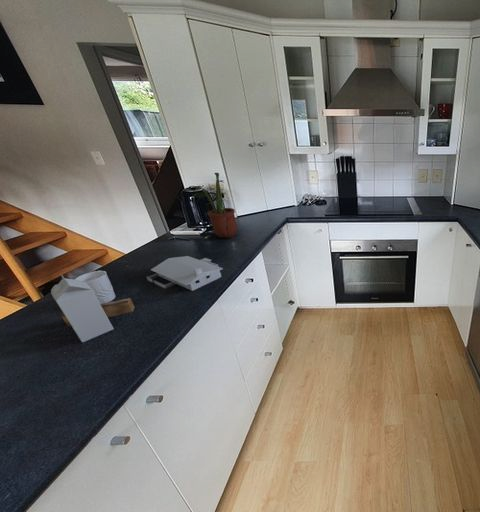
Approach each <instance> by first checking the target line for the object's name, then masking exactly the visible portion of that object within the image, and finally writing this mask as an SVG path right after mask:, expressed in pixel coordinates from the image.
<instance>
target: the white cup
mask: <svg viewBox="0 0 480 512" xmlns="http://www.w3.org/2000/svg"><path fill="white" fill-rule="evenodd" d="M74 280H77V281H83V282H86V283H87V284H88V285H89V286H90V287H91V289H92V290H93V292H94V294H95V296H96V297H97V299H98V301H99V303H100V304H103V303H108V302H113V300H115V299H116V298H117V297H116V294H115V292H114V287H113V285H112V282H111V280H110V278H109V276H108V274H107V271H105V270H95V271H90V272H87V273H83V274H80V275H79V276H77V277H76V278H75V279H74Z"/></svg>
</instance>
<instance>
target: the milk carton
mask: <svg viewBox="0 0 480 512" xmlns="http://www.w3.org/2000/svg"><path fill="white" fill-rule="evenodd" d="M60 276H61V280H60V281H59V282H58V283H57V284H54V286H52V288H51V290H50V294H51V296H52V297H53V299H54V301H55V302H56V304H57V305H58V307H59V308H60V310H61V312H62V314H64V315H65V316H66V318H67V320H68V321H69V323H70V324H71V326H70V327H71V328H72V329H73V331H74V332H75V334H76V336H77V338H78V339H79V340H80V341H81V343H85V342H87V341H90V340H92V339H95V338H97V337H99V336H102V335H103V334H106V333H108V332H109V333H110V332H111V331H113V330H114V327H113V325H112V323H111V321H110V319H109V317H107V316H106V314H105V312H104V310H103V308H102V307H101V305H100V303H99V301H98V299H97V297H96V296H95V294H94V292H93V290H92V289H91V287H90V286H89V285H88V284H87V283H86V282H83V281H77V280H75V279H71V278H65V277H64V275H62V274H61V275H60Z"/></svg>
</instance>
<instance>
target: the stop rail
mask: <svg viewBox="0 0 480 512" xmlns="http://www.w3.org/2000/svg"><path fill="white" fill-rule="evenodd" d="M100 305H101V307H102V308H103V310H104V312H105V314H106V316H107V317H108V318H111V317H116V316H121V315H125V314H129V313H133V312H134V311H135V308H136V307H135V305H134V302H133V301H132V299H131V297H128V298H127V297H126V298H122V299H118V300H114V301H113V300H112V301H110V302H107V303H103V304H100ZM60 316H61V318H62V319H63V321H64V323H65V324H66V326H67V327H72V326H71V324H70V323H69V321H68V320H67V318H66V316H65V315H64V313H61V314H60Z"/></svg>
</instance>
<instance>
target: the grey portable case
mask: <svg viewBox="0 0 480 512" xmlns="http://www.w3.org/2000/svg"><path fill="white" fill-rule="evenodd" d="M221 270H224V268H223V267H220V266H219V263H215V262H212V259H210V258H207V257H204V258H201V259H197V258H195V257H192V256H189V255H185V256H176V257H168V258H166V259H165V260H163V261H162V262H160V263H159V264H157V265H156V266H154V267H152V268H151V269H150V271H152V272H155V273H153V274H152V275H148V276H146V277H145V278H146V280H147V281H148V282H150V283H152V284H153V283H154V284H155V285H156V286H159V287H160V288H163V289H168V288H169V287H172V286H174V285H178V286H180V287H183V288H185V289H187V290H189V291H192V292H193V291H195V290H197V289H199V288H202V287H204V286H206V285H208V284H210V283H212V282H214V281H216V280H218V279H220V278H222V273H221ZM155 277H160V278H162V279H165V280H167V281H168V283H165V284H164V283H162V282H159V281H158V280H154V279H155Z"/></svg>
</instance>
